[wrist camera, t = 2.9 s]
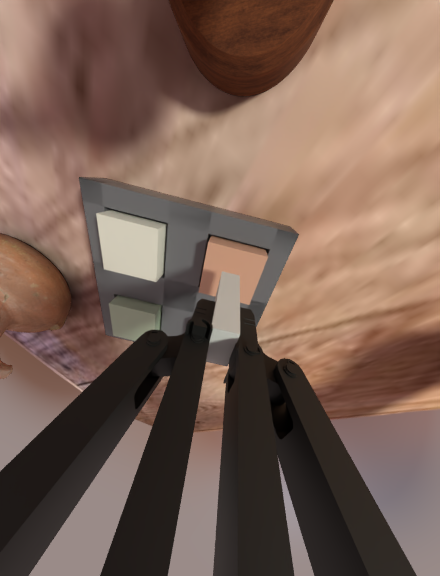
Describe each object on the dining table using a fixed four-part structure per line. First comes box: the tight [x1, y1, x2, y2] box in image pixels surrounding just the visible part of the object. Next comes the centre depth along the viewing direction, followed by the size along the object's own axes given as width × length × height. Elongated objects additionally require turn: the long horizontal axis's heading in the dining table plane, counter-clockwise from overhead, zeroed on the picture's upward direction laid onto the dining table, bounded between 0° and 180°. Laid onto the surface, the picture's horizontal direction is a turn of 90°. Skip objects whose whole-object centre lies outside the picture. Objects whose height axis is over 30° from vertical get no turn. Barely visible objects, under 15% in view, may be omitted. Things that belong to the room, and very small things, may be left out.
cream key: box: [96, 210, 167, 282], centre depth 18 cm, size 6×6×2 cm
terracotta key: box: [199, 236, 268, 305], centre depth 18 cm, size 6×6×2 cm
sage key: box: [109, 295, 162, 341], centre depth 23 cm, size 6×6×2 cm
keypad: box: [79, 177, 299, 364], centre depth 22 cm, size 20×20×4 cm
